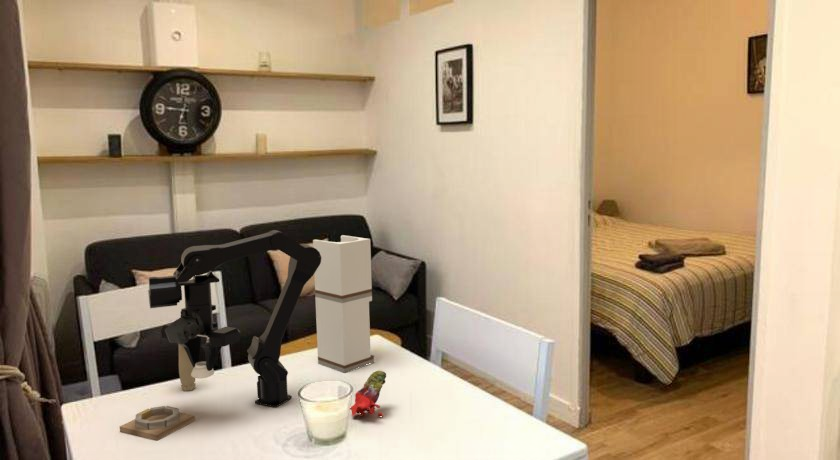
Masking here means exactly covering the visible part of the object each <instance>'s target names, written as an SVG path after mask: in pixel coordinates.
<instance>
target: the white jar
mask: <svg viewBox="0 0 840 460" xmlns="http://www.w3.org/2000/svg"><path fill="white" fill-rule="evenodd" d="M215 374H216V372H215V370H214V367H213V368H212V370H210V371H208V370H207V366H206V360H205V361H203V360H202V361H199V362H198V363H196V364H195V367H194V368H193V371H192V373H191V376H192V377H194V378H195V379H206V378H209V377H211V376H213V375H215Z"/></svg>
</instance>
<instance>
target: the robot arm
mask: <svg viewBox="0 0 840 460" xmlns="http://www.w3.org/2000/svg"><path fill="white" fill-rule="evenodd" d="M272 250H278V251H280V252H282V253H283V254H284V255H287V256H289V260H288V267H287V277H286V279H285V283H284V285H283V288H282V290H281V292H280V294H279V296H278V299H277V301H276V303H275V306H274V309H273V311H272V313H271V316H270V318H269V321H268V323H267V325H266V328H265V330H264V332H263V333H262V334H261V335H260V336H259V337H257V336H256V335H254V336H253V337H252V339H251V344H250V345H249V347H248V348H247V350H246V351H247V353H248V355H247V358H248V359H247V360H248V363H249V364H250V366H251V367H252V369H253V370H254V372H255V373H256V374H257V382H256V390H257V398H258V399H256V400H254V404H256V405H262V406H266V407H272V408H277V407H279V406H281V405H282V404H284V403H286V402H287V401H289V400H291V399H292V398H293V397H292V395H289V394H288V378H287V377H288V374H289V372H288V370H287V369H286V367H285V366H284V364H282V362H281V361H280V357H281V351H282V339H283V337H284V335H285V332H286V329H287V327H288V326H289V323H290V320H291V318H292V315H293V313H294V311H295V309H296V306H297V303H298V302H299V299H300V297H301V294H302V292H303V289H304V287H305V285H306V284H307V283H308V282H309V281H310V279H312V277H313V276H315V275H314V273H315V272H316V270H317V268H318V267H319V265H320V263H321V255H320V252H319V251H318V250H317V249H315V248H314V247H313V246H311V245H309V244H307V243H298V242H296V241H294V240H292V238H289V237H287V236H286V235H285V234H284V233H283V232H282V231H280V230H276V229H272V230H270V231H268V232H265V233H261V234H258V235H257V234H256V235H255V236H254V235H253V236H250V237H245V238H241V239H238V240H237V239H236V240H234V241H231V242H227V243H226V242H225V243H221V244H202V245H193V246H190V247H187V248H186V249H184V251H183V252H182V253H181V257H180V259H181V262H180V263H179V265H178V266H177V268H176V269H175V271H174V272H173V275H167V276H149V277H148V291H147V293H148V302H149V309H157V308H166V307H174V306H176V307H177V306H178V303H180V302H181V301H183V293H184V304H185V305H184V306H185V307H184V308H181V310H180V317H179V318H177V319H176V320H174V321H173V322H171V321H170V322H169V323H166V324H163V326H162V327H161V330H160V333H161V335H160V336H161V339H166V340H167V339H168V342H169V343H171V344H173V343H174V344H177V345H178V344H180V345H181V346H183V347H184V349H185V351H186V353H187V355H188V357H189V359H190V361H191V364H192V366H193V368H194V367H195V364H196V363H198V362H200V358H201V357H200V356H201V348H202V349H203V350H204V355H205V356H204V357H205V361H206V366H207V370H208V371H210V370H212V368H213V369H214V366H215V363H216V361H217V358H218V356H219V353H220V351H221V350H222V347H227V346H229V345H232V344H233V343H237V342H239V341H241V339H242V338H241V331H240V330H239V329H238V328H237V327H233V326H232V327H231V326H230V327H229V326H223V327H220V328H217V327H218V322H215V321H214V318H213V317H214V316H213V311H215V310H217V305H216V304H213V302H212V287H211V284H213V283H214V284H215V283H219V282H220V278H219V277H218V276H217V275H215V274H214V273H213V270H215V269H217V268H218V267H220V266H222V265H223V264H225V263H228V262H232V261H236V260H239V259H242V258H246V257H247V258H248V257H249V256H253V255H257V254H260V253H261V254H262V253H264V252H269V251H272ZM182 286H183V291H182ZM215 328H217V329H216V330H215ZM202 338H203V339H204V338H205V339H206V341H205V343H202Z"/></svg>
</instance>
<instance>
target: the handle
mask: <svg viewBox="0 0 840 460" xmlns="http://www.w3.org/2000/svg"><path fill="white" fill-rule="evenodd" d="M177 345H178V375H179V381H180V384H181V385H180V386H181V388H180V389H181V390H183V391H184V392H187V391H192V390H194V389H196V383H195V382H196V378H194V377H192V376H191V373H192V371H193V366H192V364H191V361H190V359H189V357H188V355H187V353H186V351H185V349H184V347H183V346H181V345H180V344H178V343H177Z"/></svg>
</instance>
